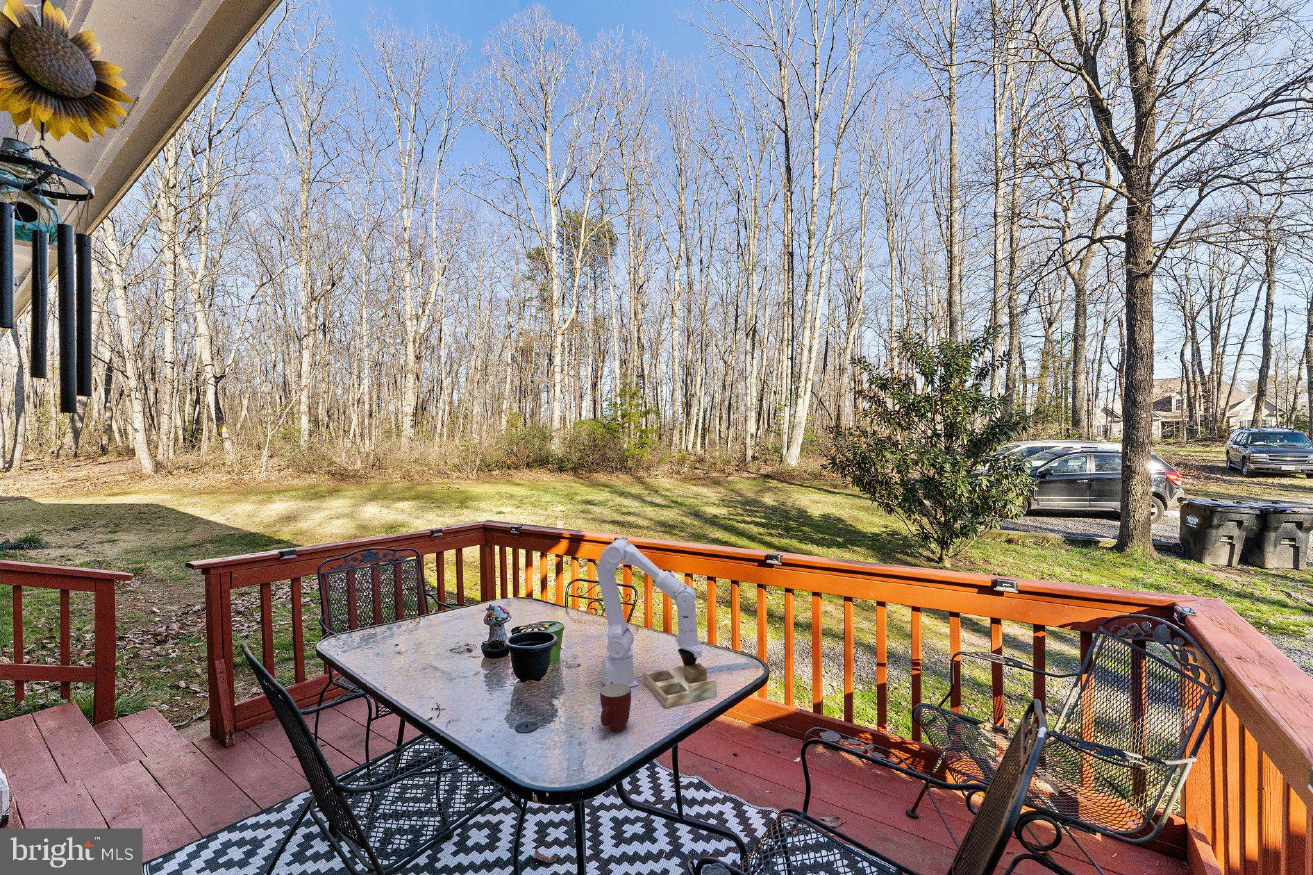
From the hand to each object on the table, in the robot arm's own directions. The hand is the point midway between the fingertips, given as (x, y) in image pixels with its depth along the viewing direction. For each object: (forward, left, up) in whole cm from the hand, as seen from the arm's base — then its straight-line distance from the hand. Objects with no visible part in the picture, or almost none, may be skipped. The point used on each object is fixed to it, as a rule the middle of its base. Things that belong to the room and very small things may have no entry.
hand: (689, 672), depth 171 cm
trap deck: (-4, -1, -4) cm, 6 cm away
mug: (-28, -15, -4) cm, 32 cm away
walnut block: (0, -4, -1) cm, 4 cm away
